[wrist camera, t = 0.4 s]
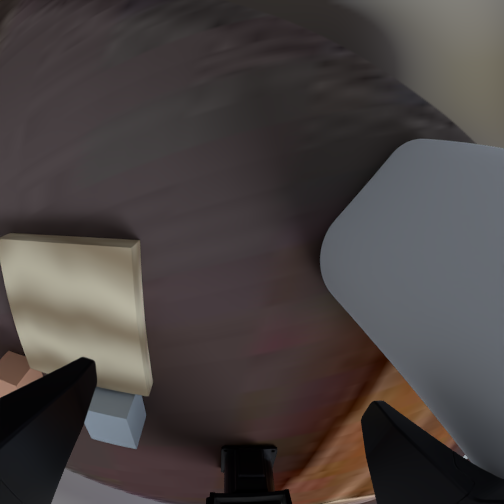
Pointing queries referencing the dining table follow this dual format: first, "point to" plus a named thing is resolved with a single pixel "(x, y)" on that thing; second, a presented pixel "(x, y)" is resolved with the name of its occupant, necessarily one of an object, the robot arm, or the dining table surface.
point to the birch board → (79, 305)
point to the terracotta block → (15, 373)
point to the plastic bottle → (432, 281)
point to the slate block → (116, 417)
